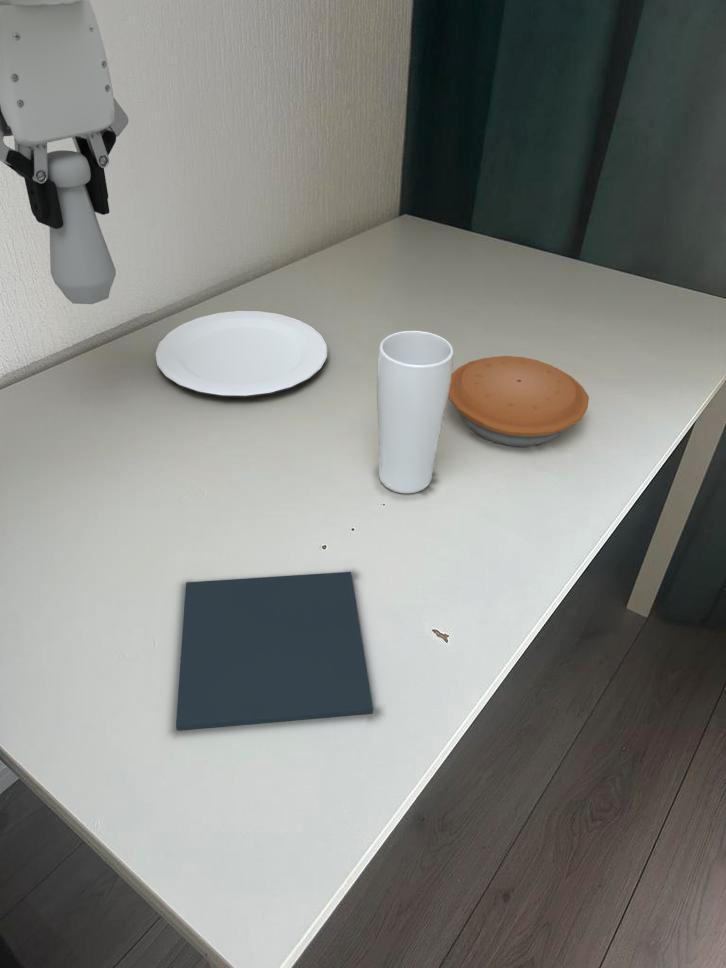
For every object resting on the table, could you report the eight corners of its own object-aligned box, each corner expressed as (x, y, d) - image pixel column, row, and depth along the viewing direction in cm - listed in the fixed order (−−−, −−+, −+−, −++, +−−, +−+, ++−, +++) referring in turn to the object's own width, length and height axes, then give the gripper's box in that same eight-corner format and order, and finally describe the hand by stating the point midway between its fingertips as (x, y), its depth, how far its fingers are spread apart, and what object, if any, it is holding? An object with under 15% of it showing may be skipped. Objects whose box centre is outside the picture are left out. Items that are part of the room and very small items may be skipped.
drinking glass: (357, 479, 78) (362, 346, 68) (401, 451, 82) (411, 322, 72) (408, 510, 74) (421, 375, 65) (451, 479, 78) (470, 348, 69)
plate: (180, 422, 84) (178, 408, 83) (140, 336, 99) (138, 324, 98) (354, 386, 92) (354, 373, 90) (293, 311, 106) (293, 299, 105)
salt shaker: (110, 310, 72) (84, 165, 64) (48, 307, 72) (15, 162, 64) (125, 284, 77) (103, 146, 69) (67, 281, 77) (38, 143, 69)
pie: (463, 372, 95) (468, 335, 92) (590, 400, 91) (600, 363, 88) (426, 438, 84) (430, 399, 81) (569, 474, 80) (579, 434, 77)
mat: (176, 730, 55) (175, 725, 54) (186, 587, 65) (185, 582, 65) (372, 713, 56) (372, 708, 56) (350, 576, 67) (350, 571, 67)
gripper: (88, -33, 66) (121, 187, 77) (-108, -23, 55) (-37, 231, 66) (148, -24, 62) (172, 205, 74) (-50, -12, 51) (15, 254, 63)
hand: (73, 215), depth 70 cm, fingers closed on salt shaker, 4 cm apart
